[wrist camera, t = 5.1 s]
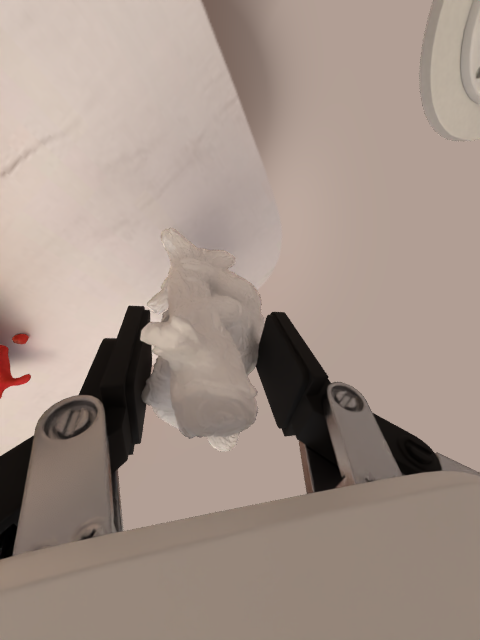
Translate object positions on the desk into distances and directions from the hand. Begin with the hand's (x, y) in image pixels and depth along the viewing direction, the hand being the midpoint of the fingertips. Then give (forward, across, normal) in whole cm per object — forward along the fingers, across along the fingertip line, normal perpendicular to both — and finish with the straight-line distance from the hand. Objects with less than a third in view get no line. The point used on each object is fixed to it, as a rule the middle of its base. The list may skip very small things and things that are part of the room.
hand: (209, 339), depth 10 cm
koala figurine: (+7, 0, 0) cm, 7 cm away
